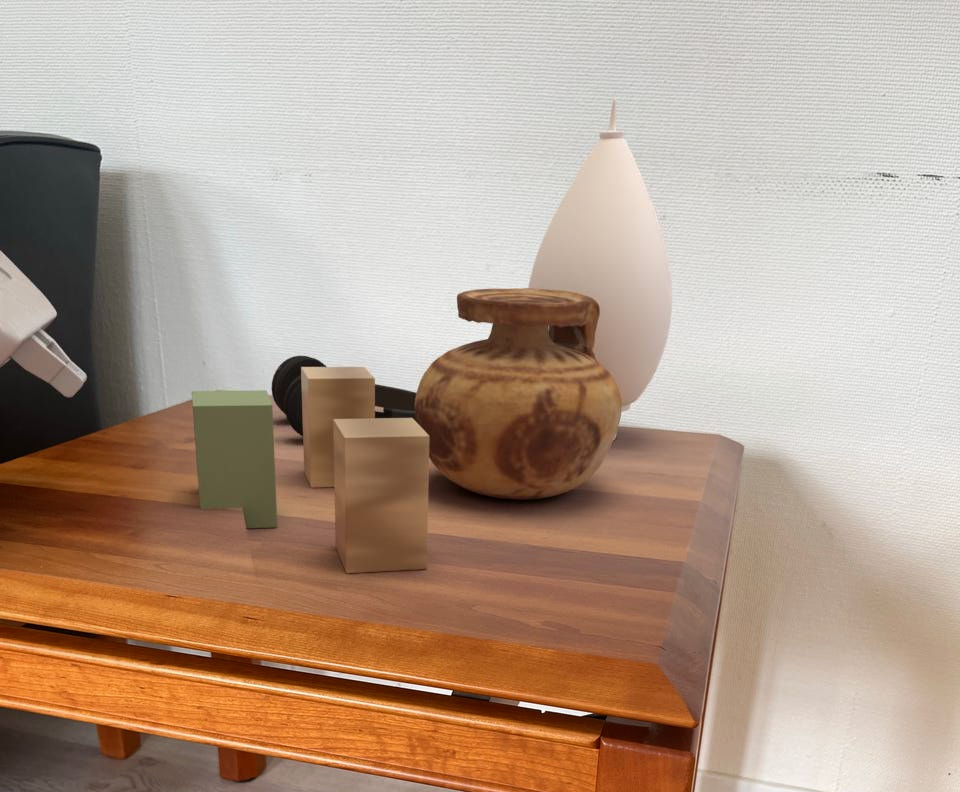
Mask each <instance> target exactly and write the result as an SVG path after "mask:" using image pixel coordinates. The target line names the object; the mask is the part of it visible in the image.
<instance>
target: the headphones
mask: <svg viewBox="0 0 960 792" xmlns="http://www.w3.org/2000/svg"><path fill="white" fill-rule="evenodd" d="M301 367H328V366H327V365H326V364H324V363H323V362H322V361H321V360H320V359H317V358H315V357H311V356H307V355H296V356H295V355H294V356H291V357H288V358H287V359H286V360H284V361H283V362H282V363H281V364H279V365H278V367H277V368H276V370H275V371H274V374H273V375H272V380H271V396H272V400H273V401H274V403H275V405H276V406H277V408H278V409H279V410H280V411H281V412H282V413H283V414H284V415H285V417H286V420H287V422H288V424H289V425H290V427H291V428H292V430H293V431H294V432H296V433H297V434H298V435H299V436H300V437H303V415H302V383H301ZM416 393H417V391H411V390H407V389H404V388H397V387H393V386H388V385H384V384H383V385H382V384H377V383H375V407H377V408H382V409H383V410H382V411H376V410H375V418H413V419H414V420H415V421H416V417H415V398H416Z"/></svg>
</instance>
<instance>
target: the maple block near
mask: <svg viewBox="0 0 960 792" xmlns="http://www.w3.org/2000/svg"><path fill="white" fill-rule="evenodd" d="M333 435H334V487H333V488H334V530H335V531H334V532H335V533H334V534H335V548H336V551H337V553H338V556H339V559H340V561H341V563H342V566H343V568H344V570H345V573H346V574H357V573H358V574H359V573H361V574H362V573H377V572H378V573H380V572H398V571H413V570H414V571H415V570H417V571H418V570H427V569H428V536H429V535H428V534H429V533H428V532H429V530H428V529H429V528H428V526H429V482H430V481H429V480H430V478H429V477H430V458H429V435H428V434H427V433H426V432H425V431H424V430H423V429H422V428H421V426H420V425H419V424H418V423H417V422H416V421H415V420H414V419H413V418H369V419H333Z"/></svg>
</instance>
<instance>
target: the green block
mask: <svg viewBox="0 0 960 792" xmlns="http://www.w3.org/2000/svg"><path fill="white" fill-rule="evenodd" d="M191 404H192V417H193V431H194V432H193V434H194V445H195V446H194V447H195V456H196V457H195V458H196V472H197V484H198V498H199V509H200V510H216V509H242V513H243V518H244V524H245V529H246V530H249V529H250V530H251V529H270V528H278V507H277V505H278V504H277V482H276V480H277V479H276V461H275V460H276V459H275V438H274V437H275V435H274V417H273V416H274V414H273V413H274V412H273V403H272V400H271V398H270V396H269V393H268V391H267V390H265V389H264V390H260V389H259V390H257V389H256V390H192V391H191Z"/></svg>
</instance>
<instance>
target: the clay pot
mask: <svg viewBox="0 0 960 792" xmlns="http://www.w3.org/2000/svg"><path fill="white" fill-rule="evenodd" d="M456 306H457V316H458V318H459V319H462V320H464V321H467V322H468V323H469V322H474V323H477V324H480V323H481V324H482V323H486V324H491V328H490V333H489V336H488V338H486V339H480V340H477V341H472V342H469V343H465V344H462V345H459V346H457V347H455V348H452V349H449V350H448V351H445V352H444V353H443V354H441V355H439V357H437V358H436V359H435V360H433V361H432V363H431V364H430V365H429V366H428V368H427V369H426V370H425V371H424V373H423V375H422V376H421V379H420V381H419V384H418V387H417V390H416V398H415V417H416V422H417V423H418V424H419V425H420V426H421V428H422V429H423V430H424V431H425V432H426V433H427V434H428V435H429V461H430V462H431V463H432V465H433V466H434V467H435V468H436V469H437V470H438V471H439V472H440V473H441V474H442V475H443V476H444V477H445V478H447V479H448V480H449V481H451V482H452V483H454V484H456V485H457V486H459V487H461V488H462V489H464V490H467V491H470V492H472V493H476V494H479V495H483V496H487V497H491V498H497V499H503V500H519V501H520V500H521V501H522V500H538V499H545V498H551V497H554V496H555V497H556V496H558V495H559V496H560V495H562V494H565V493H568V492H569V491H572V490H574V489H576V488H577V487H579V486H581V485H582V484H583V483H585V482H586V481H587V480H589V479H590V478H591V477H593V475H594V474H595V473H596V472H598V470H599V468H600V467H601V465H602V464H603V462H604V461H605V459H606V458H607V455H608V452H609V450H610V449H611V446H612V444H613V442H614V441H613V440H614V437H615V435H617V432H618V429H619V425H620V422H621V419H622V412H621V411H622V400H621V394H620V391H619V388H618V386H617V384H616V381H615V380H614V378H613V377H612V375H611V374H610V373H609V372H608V371H607V370H606V369H605V368H604V367H603V366H602V365H601V364H600V363H599V362H597V360H596V358H595V354H594V352H593V347H594V343H595V332H596V327H597V323H598V319H599V316H600V307H599V304H598V303H597V302H596V301H595V300H594V299H592V298H591V297H588V296H585V295H581V294H578V293H573V292H567V291H557V290H546V289H534V288H528V287H524V288H515V287H514V288H482V289H481V288H480V289H479V288H478V289H471V290H466V291H462V292H460V293H457V295H456ZM548 326H549V331H548Z"/></svg>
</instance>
